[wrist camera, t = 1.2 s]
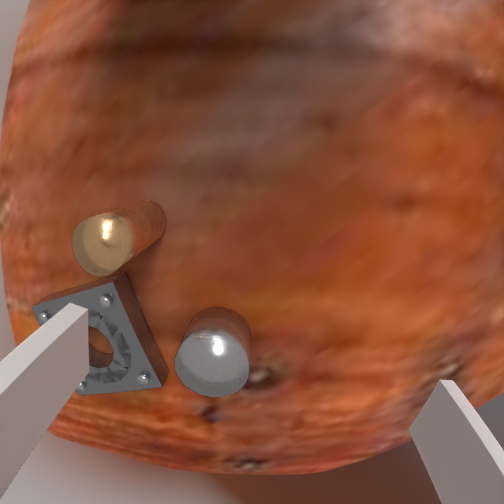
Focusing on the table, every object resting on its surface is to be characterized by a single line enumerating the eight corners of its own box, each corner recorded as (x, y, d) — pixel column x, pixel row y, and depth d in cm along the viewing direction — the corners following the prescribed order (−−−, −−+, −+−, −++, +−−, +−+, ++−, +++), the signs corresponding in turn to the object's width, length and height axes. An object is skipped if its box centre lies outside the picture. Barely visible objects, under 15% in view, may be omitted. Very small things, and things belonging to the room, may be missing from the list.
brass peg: (121, 208, 28) (64, 227, 19) (158, 194, 28) (110, 208, 18) (135, 247, 29) (84, 282, 20) (171, 235, 29) (131, 268, 19)
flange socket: (45, 296, 31) (28, 308, 28) (125, 271, 30) (110, 284, 27) (88, 381, 34) (76, 398, 31) (169, 370, 33) (160, 390, 29)
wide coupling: (179, 315, 31) (163, 345, 25) (239, 300, 30) (235, 329, 25) (201, 366, 33) (191, 401, 27) (258, 354, 32) (258, 389, 26)
